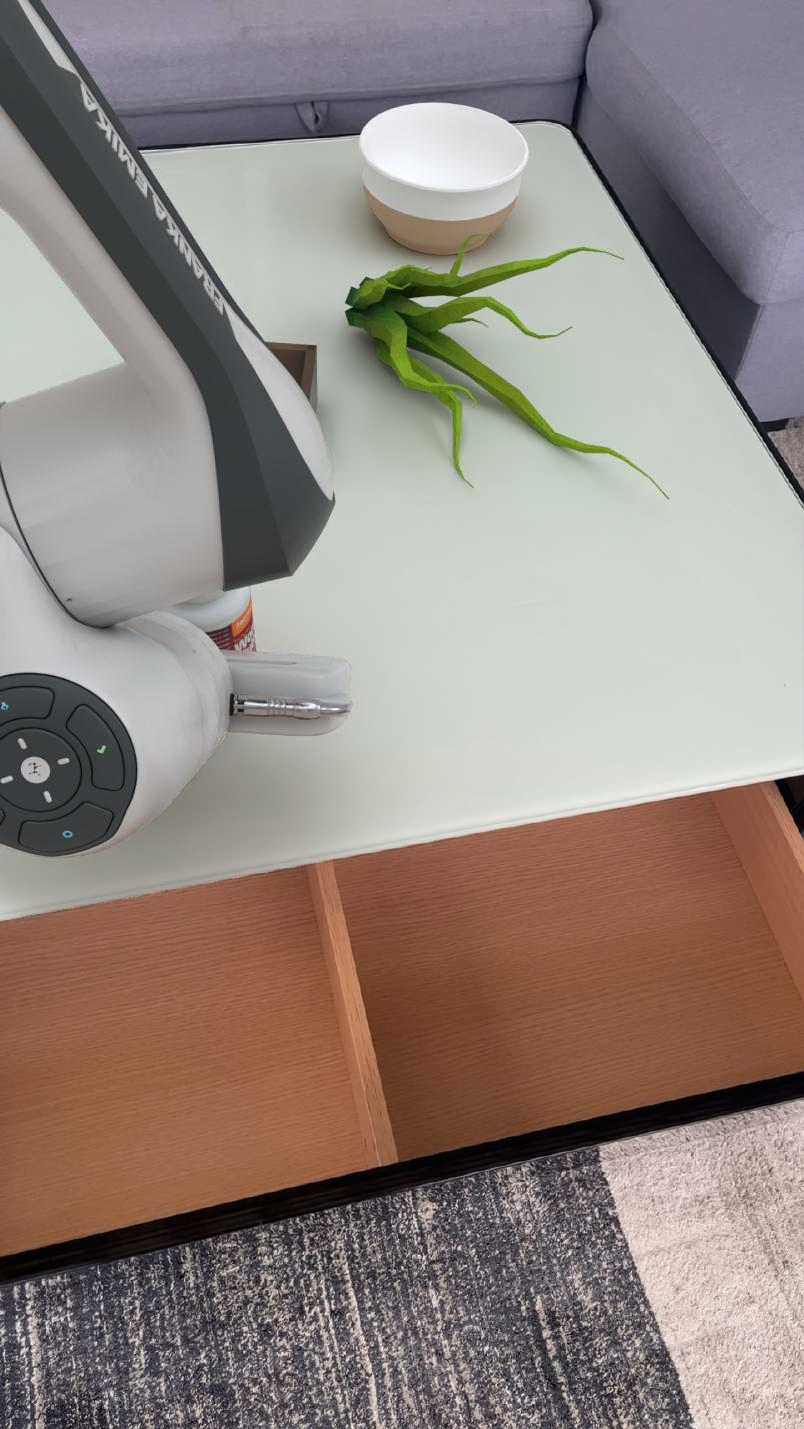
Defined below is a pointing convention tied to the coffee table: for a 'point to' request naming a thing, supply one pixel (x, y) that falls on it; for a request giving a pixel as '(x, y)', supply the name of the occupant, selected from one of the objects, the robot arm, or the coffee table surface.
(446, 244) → the bowl
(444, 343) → the decorative plant
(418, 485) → the coffee table surface
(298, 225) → the coffee table surface
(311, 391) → the u-shaped stand
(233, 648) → the pill bottle
